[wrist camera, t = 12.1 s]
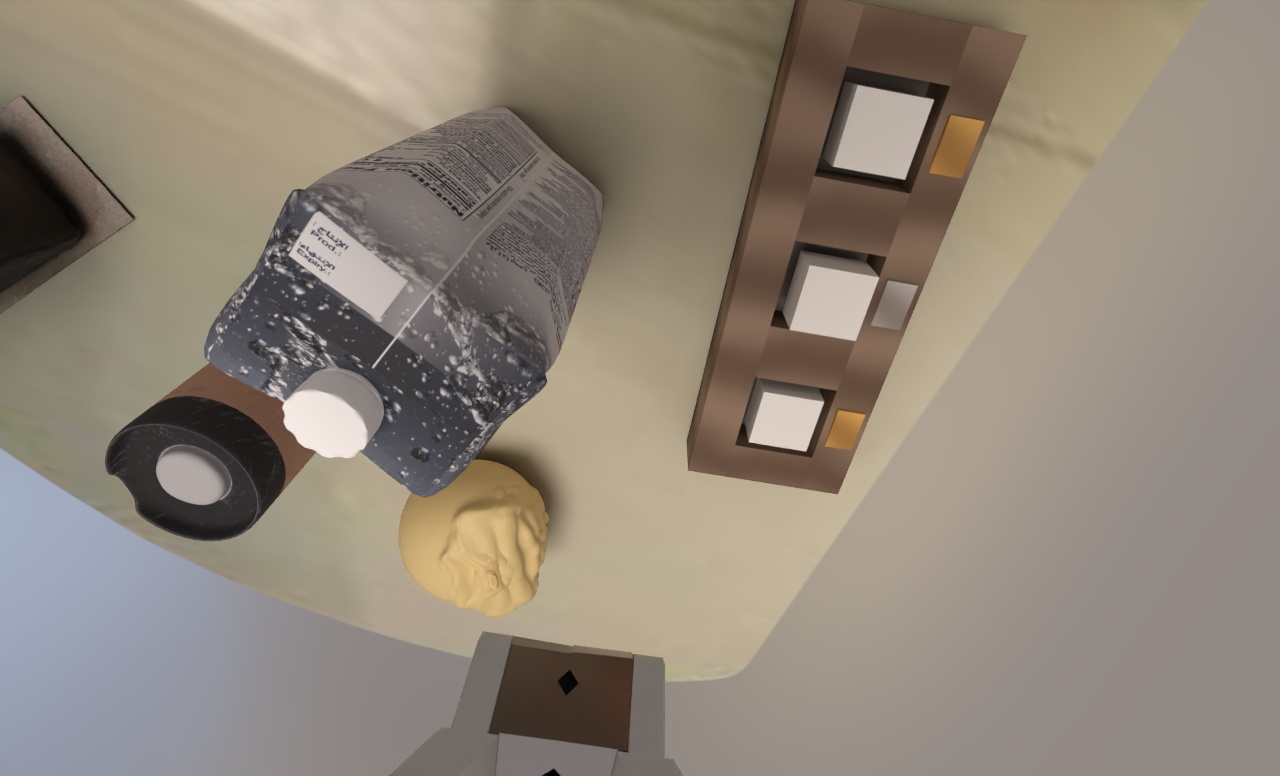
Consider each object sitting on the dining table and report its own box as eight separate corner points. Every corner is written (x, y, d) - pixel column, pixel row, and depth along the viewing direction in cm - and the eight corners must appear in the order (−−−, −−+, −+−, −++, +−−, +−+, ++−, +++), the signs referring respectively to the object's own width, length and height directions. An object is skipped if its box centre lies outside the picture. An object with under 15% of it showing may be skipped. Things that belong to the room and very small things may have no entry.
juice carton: (498, 81, 40) (257, 159, 17) (624, 195, 43) (571, 397, 20) (423, 188, 43) (136, 378, 20) (544, 286, 47) (419, 550, 23)
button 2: (844, 80, 38) (857, 85, 35) (916, 94, 38) (934, 99, 35) (822, 157, 40) (832, 166, 37) (889, 169, 40) (905, 179, 38)
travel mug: (422, 310, 48) (283, 472, 31) (383, 382, 51) (237, 565, 34) (326, 254, 46) (119, 392, 29) (291, 332, 49) (87, 499, 32)
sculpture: (565, 540, 59) (546, 637, 50) (440, 544, 60) (397, 640, 51) (546, 438, 53) (520, 525, 44) (408, 444, 54) (354, 532, 45)
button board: (796, -4, 37) (810, -8, 33) (993, 34, 38) (1029, 35, 34) (686, 441, 53) (688, 472, 49) (826, 463, 53) (838, 496, 50)
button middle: (800, 250, 41) (809, 265, 39) (866, 261, 42) (879, 277, 39) (782, 311, 44) (789, 329, 41) (844, 322, 44) (855, 341, 41)
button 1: (758, 371, 48) (764, 391, 45) (815, 381, 48) (824, 401, 45) (744, 420, 50) (748, 442, 47) (799, 429, 50) (806, 451, 48)
